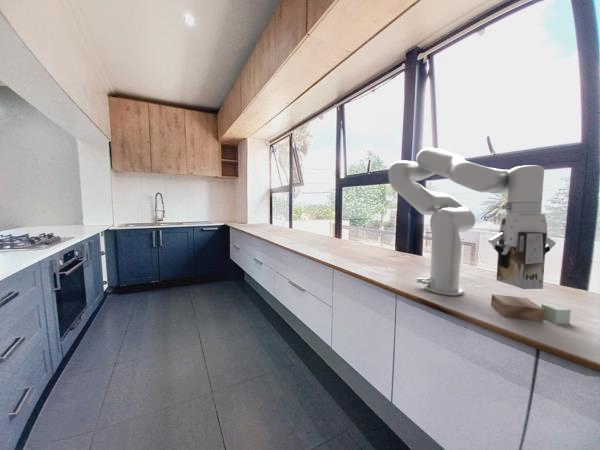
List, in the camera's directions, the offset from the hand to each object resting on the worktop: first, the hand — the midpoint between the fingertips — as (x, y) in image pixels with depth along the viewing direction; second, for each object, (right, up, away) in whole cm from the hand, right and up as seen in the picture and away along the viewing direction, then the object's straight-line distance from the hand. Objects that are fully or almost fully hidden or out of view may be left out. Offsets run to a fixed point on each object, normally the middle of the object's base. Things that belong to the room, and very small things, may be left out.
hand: (519, 267), depth 72 cm
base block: (0, -14, +1) cm, 14 cm away
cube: (+7, -14, -3) cm, 16 cm away
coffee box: (0, -5, 0) cm, 5 cm away
